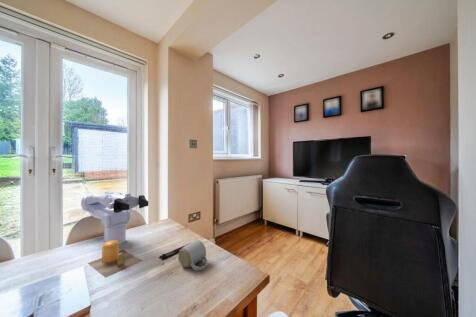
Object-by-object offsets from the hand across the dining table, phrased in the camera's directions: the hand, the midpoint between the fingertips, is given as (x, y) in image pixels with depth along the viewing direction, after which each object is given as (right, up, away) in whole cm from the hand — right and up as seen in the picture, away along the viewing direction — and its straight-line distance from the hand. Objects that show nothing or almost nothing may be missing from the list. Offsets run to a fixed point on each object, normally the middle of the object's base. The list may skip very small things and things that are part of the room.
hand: (138, 205), depth 73 cm
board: (-5, -21, -6) cm, 22 cm away
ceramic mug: (+24, -21, -5) cm, 33 cm away
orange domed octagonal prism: (-9, -20, -4) cm, 22 cm away
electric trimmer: (+15, -22, +1) cm, 26 cm away
